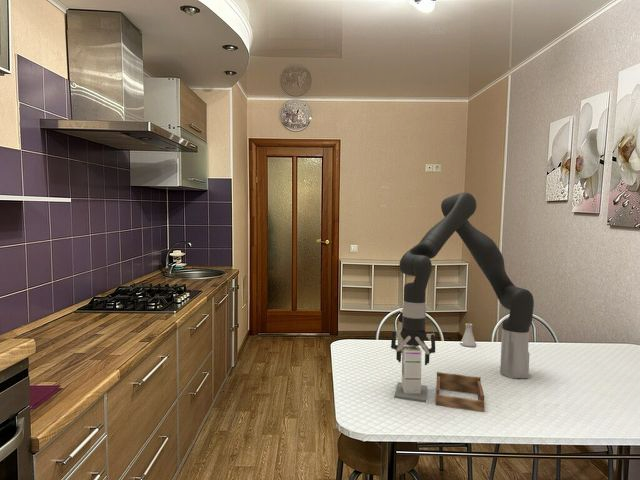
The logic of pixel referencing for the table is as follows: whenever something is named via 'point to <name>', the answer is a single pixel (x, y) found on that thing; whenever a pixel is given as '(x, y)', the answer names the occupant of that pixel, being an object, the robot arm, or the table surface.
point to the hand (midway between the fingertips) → (412, 363)
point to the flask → (468, 337)
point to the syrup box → (411, 369)
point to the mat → (415, 397)
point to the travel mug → (400, 327)
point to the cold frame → (460, 385)
